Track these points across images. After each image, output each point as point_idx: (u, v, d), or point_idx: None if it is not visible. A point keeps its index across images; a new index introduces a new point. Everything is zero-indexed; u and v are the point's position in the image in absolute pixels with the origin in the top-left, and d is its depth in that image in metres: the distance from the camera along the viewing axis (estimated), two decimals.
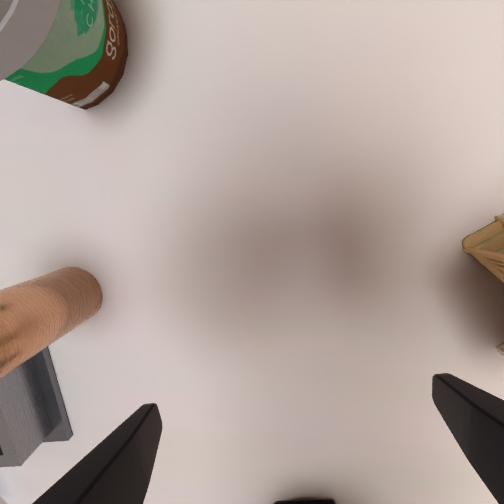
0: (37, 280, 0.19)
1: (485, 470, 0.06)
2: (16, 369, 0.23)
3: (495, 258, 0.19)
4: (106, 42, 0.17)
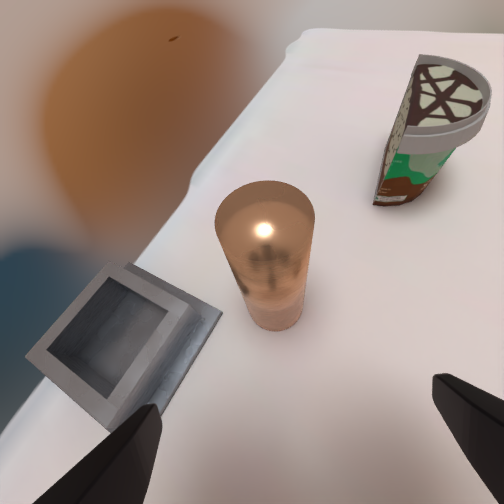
0: None
1: (485, 470, 0.06)
2: (186, 327, 0.22)
3: None
4: (430, 178, 0.26)
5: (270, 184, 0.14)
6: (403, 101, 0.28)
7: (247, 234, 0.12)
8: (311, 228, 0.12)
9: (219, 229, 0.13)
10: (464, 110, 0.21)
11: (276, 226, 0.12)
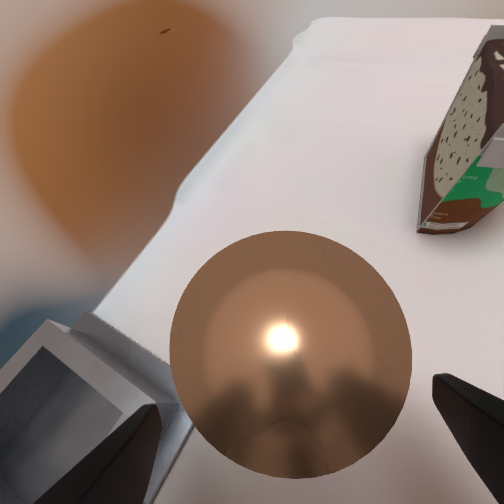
0: None
1: (485, 470, 0.06)
2: None
3: None
4: None
5: (294, 239, 0.07)
6: (458, 93, 0.20)
7: (245, 376, 0.05)
8: (407, 371, 0.05)
9: (179, 357, 0.05)
10: None
11: (316, 358, 0.05)
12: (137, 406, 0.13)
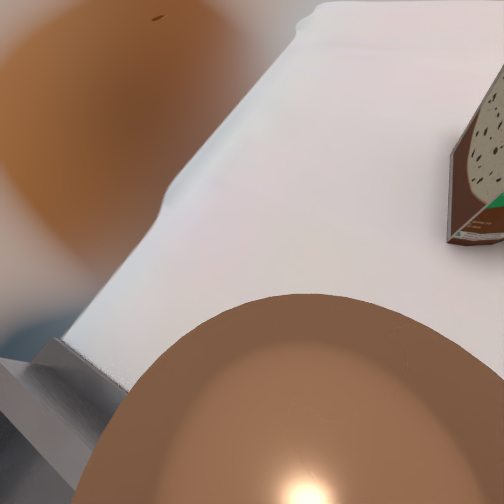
0: None
1: None
2: None
3: None
4: None
5: (334, 314, 0.03)
6: (499, 76, 0.17)
7: None
8: None
9: None
10: None
11: None
12: None
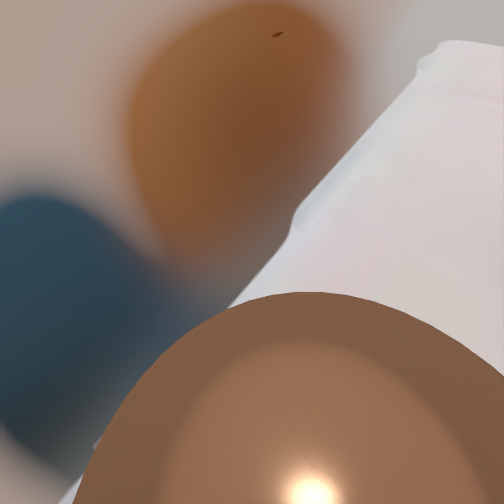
0: None
1: None
2: None
3: None
4: None
5: (336, 312, 0.03)
6: None
7: None
8: None
9: None
10: None
11: None
12: None
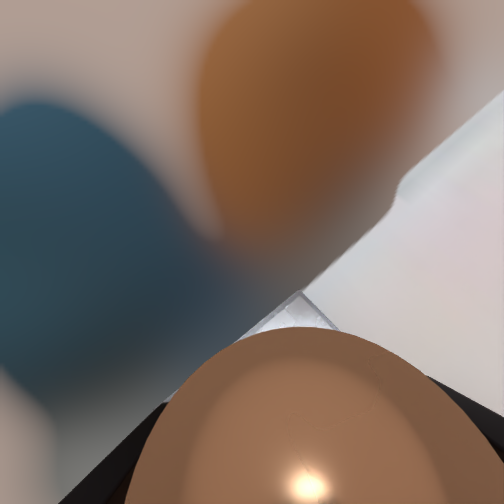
0: None
1: None
2: None
3: None
4: None
5: (325, 344, 0.04)
6: None
7: None
8: None
9: None
10: None
11: None
12: None
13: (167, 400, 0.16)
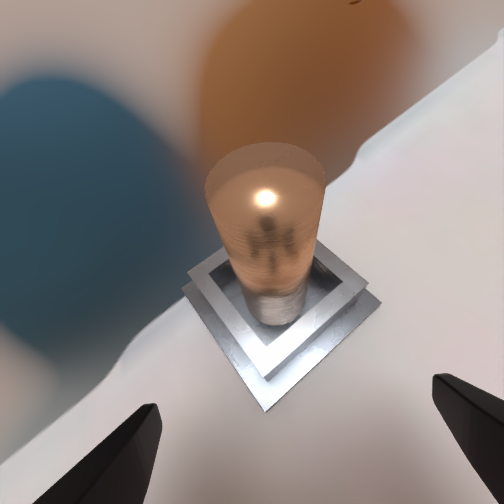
0: None
1: (485, 470, 0.06)
2: (348, 306, 0.19)
3: None
4: None
5: (271, 145, 0.12)
6: None
7: (244, 200, 0.10)
8: (322, 192, 0.10)
9: (210, 195, 0.11)
10: None
11: (279, 191, 0.10)
12: (354, 281, 0.18)
13: (190, 283, 0.23)
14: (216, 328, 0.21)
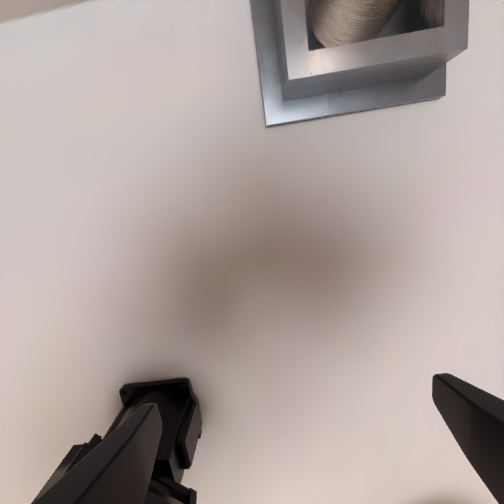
0: None
1: (485, 470, 0.06)
2: (415, 70, 0.16)
3: None
4: None
5: None
6: None
7: None
8: None
9: None
10: None
11: None
12: (455, 35, 0.13)
13: None
14: (259, 5, 0.16)
